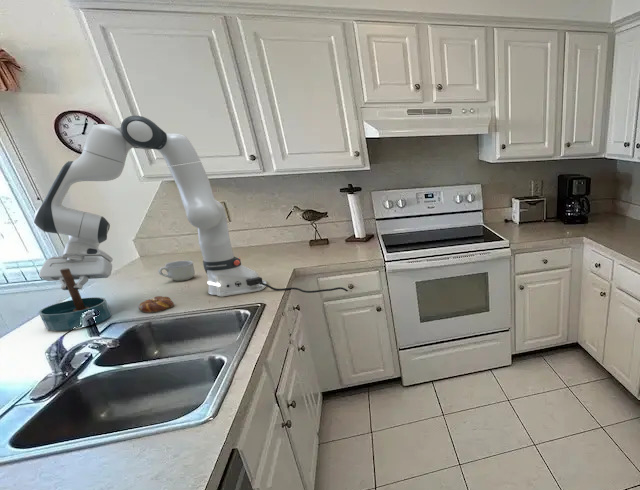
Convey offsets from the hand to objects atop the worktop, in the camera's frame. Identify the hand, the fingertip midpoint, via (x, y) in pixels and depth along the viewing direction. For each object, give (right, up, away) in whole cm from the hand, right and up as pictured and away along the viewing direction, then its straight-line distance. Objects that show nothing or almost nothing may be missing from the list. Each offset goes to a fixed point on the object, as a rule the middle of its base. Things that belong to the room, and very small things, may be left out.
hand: (71, 289), depth 147 cm
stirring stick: (0, -8, +4) cm, 9 cm away
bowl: (+1, -12, +2) cm, 12 cm away
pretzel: (+18, -7, +15) cm, 25 cm away
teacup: (+1, +7, +49) cm, 49 cm away
